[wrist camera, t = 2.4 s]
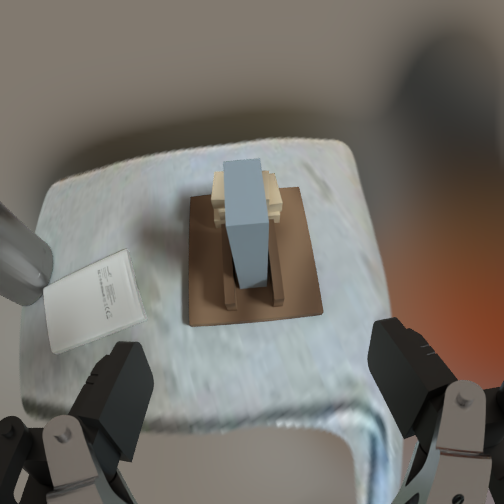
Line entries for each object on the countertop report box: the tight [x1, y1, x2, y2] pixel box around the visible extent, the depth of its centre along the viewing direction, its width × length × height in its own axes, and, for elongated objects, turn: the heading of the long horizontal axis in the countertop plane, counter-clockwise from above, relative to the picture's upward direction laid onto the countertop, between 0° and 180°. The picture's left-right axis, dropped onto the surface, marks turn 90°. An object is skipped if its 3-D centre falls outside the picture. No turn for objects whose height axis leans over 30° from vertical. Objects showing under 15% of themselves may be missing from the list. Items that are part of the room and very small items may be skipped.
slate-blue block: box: [223, 158, 269, 289], centre depth 22 cm, size 2×5×11 cm, turn 5°
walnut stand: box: [189, 187, 323, 327], centre depth 27 cm, size 12×14×4 cm
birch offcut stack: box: [211, 171, 283, 228], centre depth 27 cm, size 7×4×4 cm, turn 95°
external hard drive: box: [43, 249, 148, 354], centre depth 26 cm, size 2×8×12 cm
